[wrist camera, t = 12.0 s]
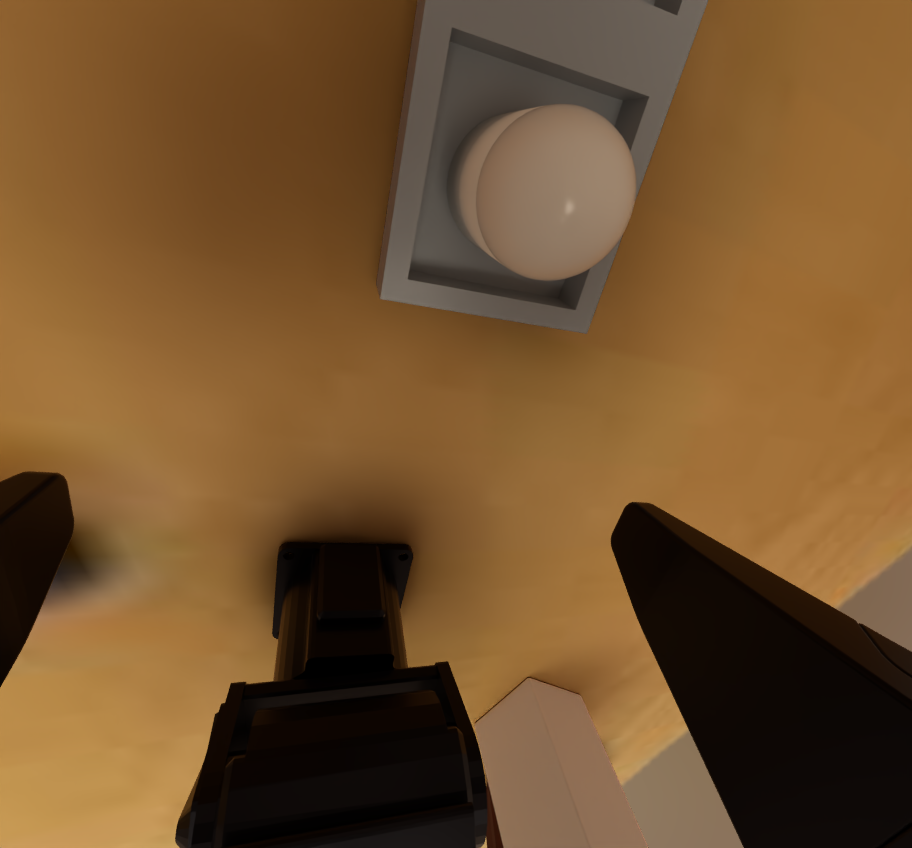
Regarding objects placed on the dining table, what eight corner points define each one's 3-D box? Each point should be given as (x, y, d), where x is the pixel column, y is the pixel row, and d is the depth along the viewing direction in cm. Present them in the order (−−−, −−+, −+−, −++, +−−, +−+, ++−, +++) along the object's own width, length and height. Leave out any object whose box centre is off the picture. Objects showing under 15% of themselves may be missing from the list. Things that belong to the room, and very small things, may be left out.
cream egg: (545, 263, 18) (629, 310, 13) (435, 240, 17) (479, 281, 12) (584, 133, 16) (701, 127, 11) (463, 95, 15) (531, 68, 10)
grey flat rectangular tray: (565, 317, 20) (586, 333, 18) (376, 284, 18) (380, 299, 16) (782, -324, 12) (853, -399, 11) (495, -535, 10) (527, -675, 8)
